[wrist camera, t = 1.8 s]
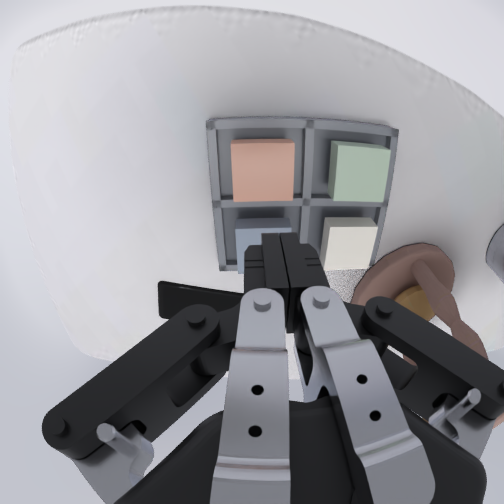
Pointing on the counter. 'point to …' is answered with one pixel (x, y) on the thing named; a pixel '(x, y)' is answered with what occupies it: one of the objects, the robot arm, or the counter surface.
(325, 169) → the keypad
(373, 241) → the cream key
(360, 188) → the sage key
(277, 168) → the terracotta key
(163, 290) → the smartphone
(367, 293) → the hourglass
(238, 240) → the slate key
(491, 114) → the counter surface
